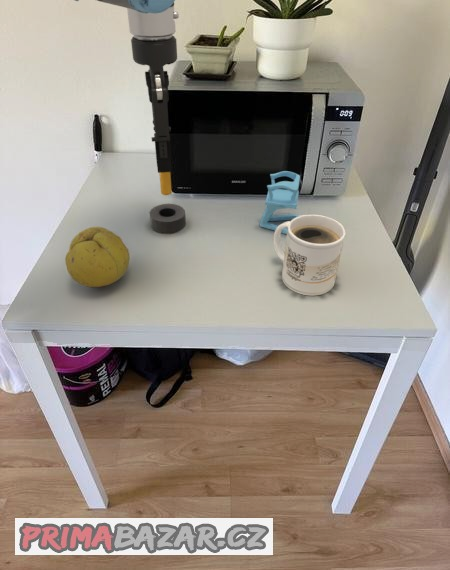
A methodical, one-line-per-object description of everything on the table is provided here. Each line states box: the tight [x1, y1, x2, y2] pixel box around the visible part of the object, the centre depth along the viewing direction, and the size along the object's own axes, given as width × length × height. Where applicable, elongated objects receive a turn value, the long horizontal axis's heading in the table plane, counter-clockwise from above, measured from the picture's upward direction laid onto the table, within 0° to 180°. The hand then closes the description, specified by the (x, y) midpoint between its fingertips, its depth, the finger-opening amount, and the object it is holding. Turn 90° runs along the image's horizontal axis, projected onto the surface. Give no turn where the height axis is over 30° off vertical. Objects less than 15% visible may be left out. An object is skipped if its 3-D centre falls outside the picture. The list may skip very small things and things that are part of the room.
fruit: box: [64, 226, 130, 288], centre depth 78 cm, size 11×12×10 cm
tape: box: [149, 203, 187, 235], centre depth 96 cm, size 8×8×3 cm
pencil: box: [158, 172, 173, 196], centre depth 87 cm, size 2×2×15 cm
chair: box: [259, 170, 301, 235], centre depth 93 cm, size 8×8×12 cm
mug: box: [272, 214, 346, 297], centre depth 80 cm, size 10×12×11 cm
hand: (164, 168), depth 88 cm, fingers closed on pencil, 2 cm apart
